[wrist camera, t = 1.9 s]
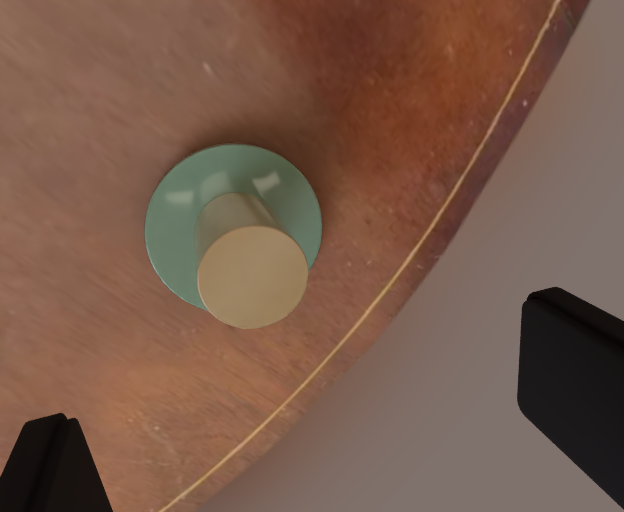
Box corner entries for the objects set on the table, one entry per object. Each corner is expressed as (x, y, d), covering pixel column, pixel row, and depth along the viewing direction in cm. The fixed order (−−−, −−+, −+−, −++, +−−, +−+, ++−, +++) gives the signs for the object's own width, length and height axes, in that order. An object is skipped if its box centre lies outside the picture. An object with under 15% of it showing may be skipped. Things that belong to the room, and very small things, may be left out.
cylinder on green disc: (340, 176, 24) (397, 210, 17) (280, 318, 25) (313, 395, 19) (177, 112, 21) (176, 124, 14) (124, 277, 22) (102, 353, 16)
